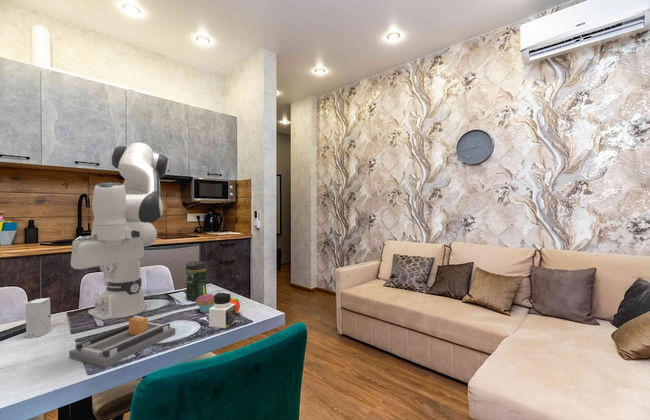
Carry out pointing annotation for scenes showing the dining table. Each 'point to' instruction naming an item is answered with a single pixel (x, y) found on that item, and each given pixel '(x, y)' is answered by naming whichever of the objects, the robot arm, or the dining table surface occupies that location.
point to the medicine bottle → (222, 311)
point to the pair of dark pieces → (125, 344)
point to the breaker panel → (95, 351)
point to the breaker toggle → (138, 325)
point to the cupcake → (205, 301)
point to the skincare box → (38, 317)
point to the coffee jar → (195, 279)
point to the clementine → (236, 304)
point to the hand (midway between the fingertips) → (110, 278)
